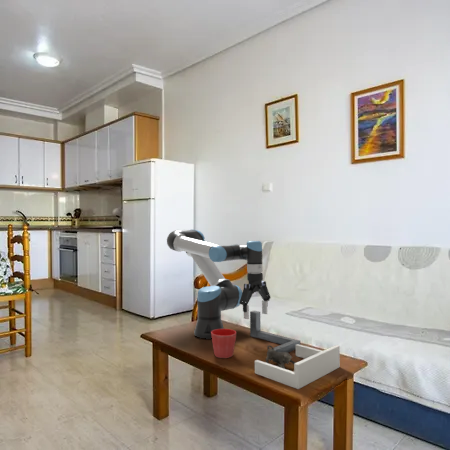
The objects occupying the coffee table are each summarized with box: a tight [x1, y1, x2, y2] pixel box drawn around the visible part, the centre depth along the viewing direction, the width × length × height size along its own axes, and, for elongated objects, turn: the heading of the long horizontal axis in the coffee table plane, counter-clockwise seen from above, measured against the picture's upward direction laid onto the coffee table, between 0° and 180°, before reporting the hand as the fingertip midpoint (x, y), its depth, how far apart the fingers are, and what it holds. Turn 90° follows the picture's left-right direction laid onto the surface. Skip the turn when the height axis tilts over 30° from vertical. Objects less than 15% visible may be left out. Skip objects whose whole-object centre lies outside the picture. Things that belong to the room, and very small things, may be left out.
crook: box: [249, 310, 301, 353], centre depth 168 cm, size 27×19×12 cm
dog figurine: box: [265, 345, 296, 369], centre depth 142 cm, size 12×6×7 cm, turn 50°
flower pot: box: [211, 328, 237, 359], centre depth 156 cm, size 11×11×10 cm
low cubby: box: [254, 344, 341, 390], centre depth 139 cm, size 19×27×8 cm
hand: (255, 316), depth 181 cm, fingers open, 13 cm apart
